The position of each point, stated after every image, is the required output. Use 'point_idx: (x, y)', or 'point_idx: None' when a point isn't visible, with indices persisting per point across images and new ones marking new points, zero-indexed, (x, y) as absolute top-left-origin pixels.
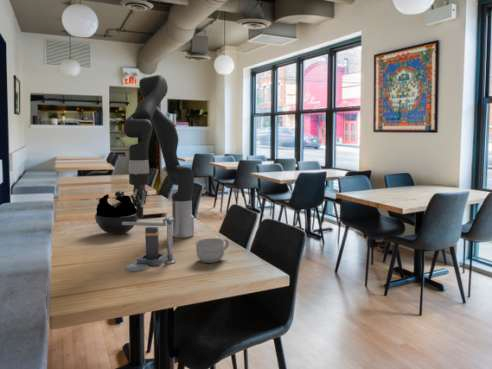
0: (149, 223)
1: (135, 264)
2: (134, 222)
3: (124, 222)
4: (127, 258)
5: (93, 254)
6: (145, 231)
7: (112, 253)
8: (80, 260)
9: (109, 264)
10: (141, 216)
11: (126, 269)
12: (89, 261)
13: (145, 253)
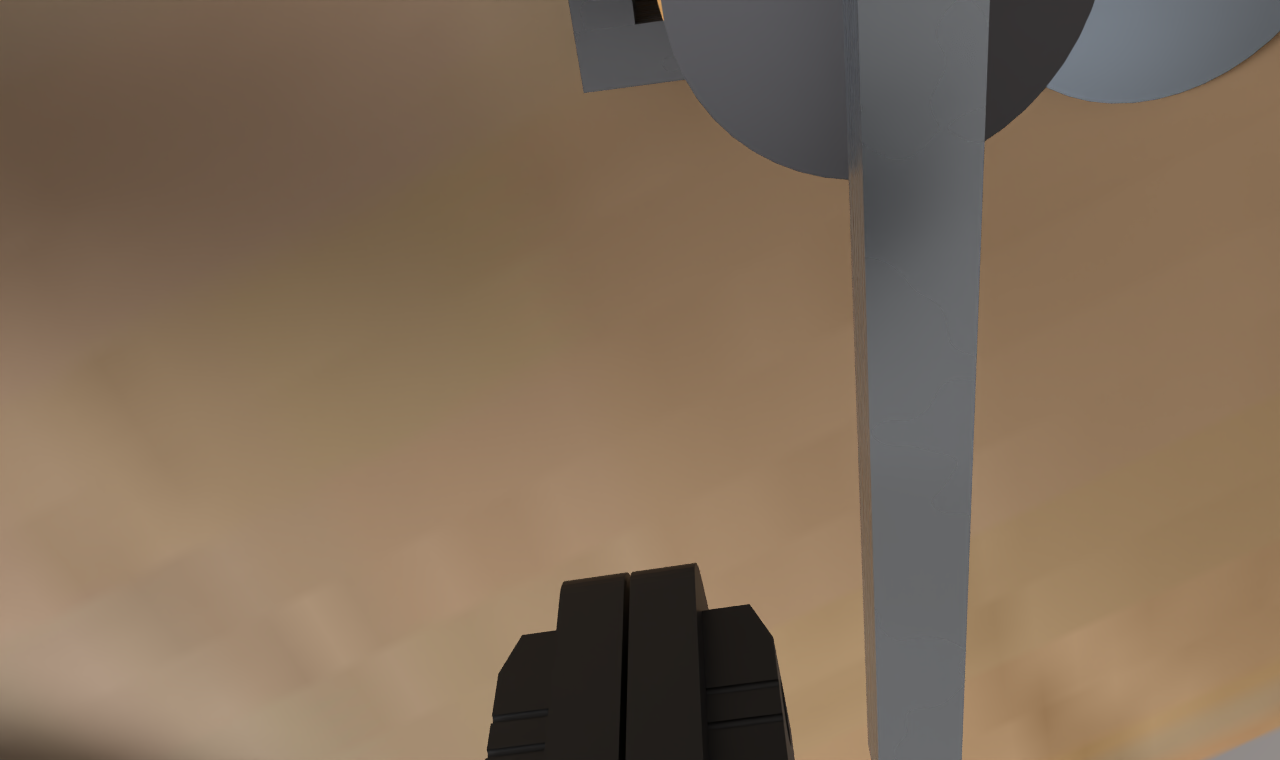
0: (979, 77)
1: None
2: (940, 552)
3: (958, 745)
4: (703, 299)
5: None
6: None
7: (547, 567)
8: None
9: (1014, 376)
10: (695, 578)
11: (1270, 29)
12: None
13: (633, 63)
